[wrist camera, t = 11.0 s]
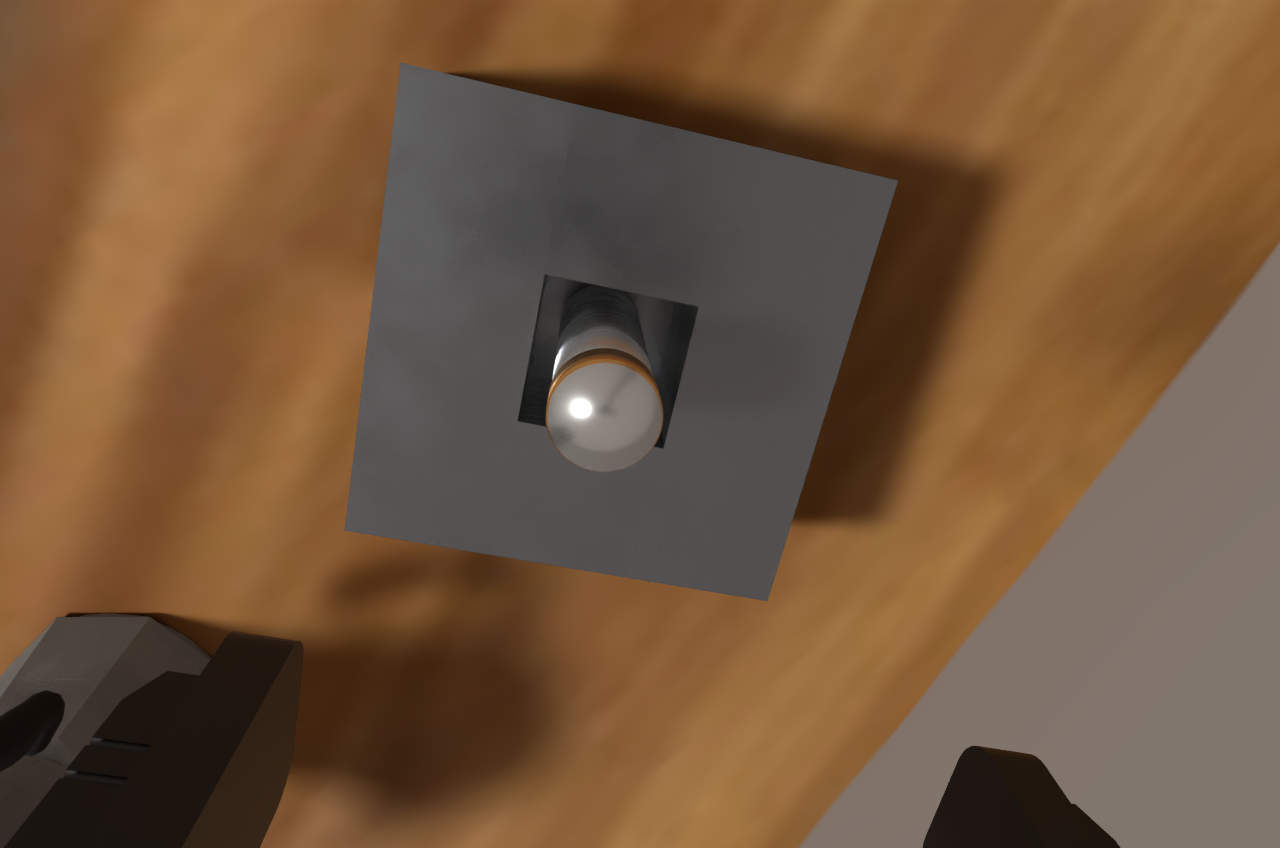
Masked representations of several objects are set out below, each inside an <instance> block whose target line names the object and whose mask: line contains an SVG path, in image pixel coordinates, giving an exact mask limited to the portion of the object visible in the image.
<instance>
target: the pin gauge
mask: <svg viewBox="0 0 1280 848" xmlns="http://www.w3.org/2000/svg"><path fill="white" fill-rule="evenodd" d="M546 426H547V430H548V434H549V436H550V439H551V441H552V443H553V444H554V446H555V447H556V449H557V450H558V451H559V452H560V454H562V455H563V456H564V457H565V458H566V459H567V460H569V461H570V462H571V463H573V464H575V465H577V466H579V467H581V468H584V469H587V470H591V471H598V472H611V471H617V470H621V469H624V468H627V467H630V466H632V465H634V464H635V463H637V462H639V461H640V460H641V459H643V458H644V457H645V456H646V455H647V454H648V453H649V452H650V451H651V450H652V448H653V447H654V445H655V444H656V442H657V440H658V438H659V436H660V433H661V430H662V426H663V406H662V402H661V398H660V394H659V390H658V386H657V383H656V381H655V378H654V377H653V373H652V369H651V365H650V361H649V357H648V353H647V349H646V345H645V340H644V336H643V332H642V328H641V324H640V320H639V316H638V312H637V309H636V307H635V305H634V303H633V302H632V301H631V299H630V298H629V297H628V296H627V295H626V294H624V293H623V292H622V291H620V290H618V289H613V288H608V287H603V286H599V285H594V286H589V287H586V288H583V289H581V290H580V291H578V292H577V293H575V294H574V295H573V296H572V297H571V298H570V299H569V300H568V302H567V303H566V305H565V306H564V309H563V311H562V315H561V321H560V328H559V335H558V343H557V350H556V357H555V364H554V372H553V379H552V383H551V385H550V389H549V394H548V400H547V408H546Z"/></svg>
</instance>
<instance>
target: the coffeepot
mask: <svg viewBox="0 0 1280 848" xmlns="http://www.w3.org/2000/svg"><path fill="white" fill-rule="evenodd" d="M210 660H211V657H210V656H209V655H208V654H207V653H206V652H205V651H203V650H202V649H201V648H200V647H199V646H198V645H196V644H195V643H194V642H193V641H192V640H191V639H189V638H187V637H186V636H184V635H183V634H181V633H179V632H178V631H176V630H174V629H173V628H170V627H168V626H166V625H163V624H161V623H158V622H156V621H155V620H154V619H152V618H151V617H146V616H138V615H129V614H116V613H101V614H89V615H84V616H80V617H57V618H56V619H55V620H54V621H53V622H52V623H51V624H50V625H49V626H48V627H47V628H46V629H45V630H44V631H43V632H42V633H41V634H40V635H39V636H38V637H37V638H36V639H35V640H34V641H33V642H32V644H31V645H30V646H29V647H28V648H27V649H26V650H25V651H24V652H23V653H22V654H21V655H20V656H19V657H18V658H17V659H16V660H15V661H14V662H13V663H12V664H11V665H10V666H9V667H8V668H7V669H6V670H5V671H4V673H3V674H2V676H1V677H0V848H4V846H5V845H6V844H7V843H8V841H9V840H10V839H11V838H12V836H13V835H14V834H15V833H16V831H17V830H18V829H19V828H20V826H21V825H22V824H23V823H24V821H25V820H26V819H27V818H28V816H29V815H30V814H31V813H32V811H33V810H34V809H35V808H36V806H37V805H38V804H39V803H40V801H41V800H42V799H43V798H44V796H45V795H46V794H47V793H48V791H49V790H50V789H51V788H52V786H53V785H54V784H55V783H56V781H57V780H58V779H59V778H63V777H64V775H65V772H66V769H67V768H68V766H69V765H70V764H71V763H72V761H73V760H74V759H75V758H76V756H77V755H78V754H79V753H80V751H81V750H82V749H83V748H84V746H85V745H89V744H90V742H91V739H92V736H93V735H94V734H95V732H96V731H97V730H98V729H99V727H100V726H101V725H102V724H103V722H104V721H105V720H106V719H107V717H108V716H109V715H110V714H111V712H112V711H113V710H114V709H115V707H116V706H117V705H118V704H119V702H120V701H121V700H122V699H123V698H125V697H127V696H128V695H130V694H131V693H133V692H134V691H136V690H138V689H139V688H141V687H142V686H144V685H146V684H147V683H149V682H150V681H152V680H154V679H155V678H157V677H158V676H160V675H162V674H163V673H165V672H166V671H173V672H179V673H186V674H193V675H200V674H201V672H202V671H203V670H204V668H205V667H206V665H207V664H208V662H209V661H210Z"/></svg>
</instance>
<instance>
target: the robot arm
mask: <svg viewBox="0 0 1280 848" xmlns="http://www.w3.org/2000/svg"><path fill="white" fill-rule="evenodd" d="M302 663H303V645H302V643H301V642H300V641H293V640H287V639H280V638H274V637H267V636H260V635H254V634H247V633H241V632H231V633H230V634H229V635H228V636H227V637H226V638H225V639H224V641H223V642H222V644H221V645H220V647H219V648H218V649H217V651H216V652H215V654H214V655H213V657H212V658H211V660H210V661H209V662H208V664H207V665H206V667H205V668H204V670H203V671H202V672H201V674H200V675H193V674H186V673H179V672H173V671H166V672H165V673H163V674H162V675H160V676H158V677H157V678H155V679H154V680H152V681H150V682H149V683H147V684H146V685H144V686H142V687H141V688H139V689H138V690H136V691H134V692H133V693H131V694H130V695H128V696H127V697H125V698H123V699H122V700H121V701H120V702H119V704H118V705H117V706H116V707H115V709H114V710H113V711H112V712H111V714H110V715H109V716H108V717H107V719H106V720H105V721H104V722H103V724H102V725H101V726H100V727H99V729H98V730H97V731H96V732H95V734H94V735H93V736H92V739H91V742H90V744H89V745H85V746H84V748H83V749H82V750H81V751H80V753H79V754H78V755H77V756H76V758H75V759H74V760H73V761H72V763H71V764H70V765H69V766H68V768H67V769H66V772H65V775H64V777H63V778H59V779H58V780H57V781H56V783H55V784H54V785H53V786H52V788H51V789H50V790H49V791H48V793H47V794H46V795H45V796H44V798H43V799H42V800H41V801H40V803H39V804H38V805H37V806H36V808H35V809H34V810H33V811H32V813H31V814H30V815H29V816H28V818H27V819H26V820H25V821H24V823H23V824H22V825H21V826H20V828H19V829H18V830H17V831H16V833H15V834H14V835H13V836H12V838H11V839H10V840H9V841H8V843H7V844H6V845H5V846H4V848H260V846H261V844H262V841H263V839H264V837H265V835H266V833H267V830H268V828H269V826H270V824H271V822H272V819H273V817H274V815H275V813H276V810H277V808H278V805H279V803H280V800H281V797H282V794H283V791H284V788H285V785H286V781H287V777H288V774H289V769H290V765H291V760H292V754H293V747H294V738H295V729H296V719H297V710H298V701H299V691H300V682H301V672H302ZM923 848H1120V847H1119V845H1118V844H1117V842H1116V841H1115V840H1114V839H1113V838H1112V837H1111V836H1109V834H1107V833H1106V832H1105V831H1104V830H1103V829H1102V828H1101V827H1100V826H1099V825H1097V824H1096V823H1095V822H1094V821H1093V820H1092V819H1091V818H1090V817H1089V816H1088V815H1087V814H1085V813H1084V812H1083V811H1082V810H1081V809H1080V808H1079V807H1078V806H1077V805H1075V804H1071V803H1070V801H1069V800H1068V799H1067V797H1066V795H1065V794H1064V793H1063V791H1062V790H1061V788H1060V787H1059V786H1058V784H1057V782H1056V781H1055V780H1054V778H1053V777H1052V775H1051V774H1050V772H1049V771H1048V769H1047V768H1046V767H1045V765H1044V764H1043V763H1042V761H1041V760H1040V759H1038V758H1037V757H1036V756H1034V755H1031V754H1026V753H1020V752H1013V751H1006V750H1000V749H993V748H987V747H980V746H971V747H969V748H967V749H966V750H965V751H964V752H963V753H962V755H961V756H960V758H959V760H958V762H957V765H956V767H955V769H954V772H953V774H952V776H951V779H950V781H949V783H948V786H947V788H946V790H945V793H944V795H943V797H942V800H941V802H940V805H939V807H938V809H937V811H936V814H935V816H934V818H933V821H932V823H931V825H930V828H929V830H928V832H927V835H926V837H925V840H924V844H923Z"/></svg>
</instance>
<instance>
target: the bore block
mask: <svg viewBox="0 0 1280 848" xmlns="http://www.w3.org/2000/svg"><path fill="white" fill-rule="evenodd" d="M897 183H898V180H894V179H889V178H885V177H881V176H877V175H873V174H868V173H864V172H860V171H856V170H852V169H847V168H843V167H839V166H835V165H830V164H826V163H822V162H818V161H814V160H809V159H805V158H801V157H797V156H792V155H788V154H784V153H780V152H776V151H771V150H767V149H763V148H759V147H754V146H750V145H746V144H742V143H738V142H733V141H729V140H725V139H721V138H716V137H712V136H708V135H704V134H700V133H695V132H691V131H687V130H683V129H679V128H674V127H670V126H666V125H662V124H657V123H653V122H649V121H645V120H641V119H636V118H632V117H628V116H624V115H619V114H615V113H611V112H607V111H603V110H598V109H594V108H590V107H586V106H581V105H577V104H573V103H569V102H565V101H560V100H556V99H552V98H548V97H543V96H539V95H535V94H531V93H527V92H522V91H518V90H514V89H510V88H506V87H501V86H497V85H493V84H489V83H484V82H480V81H476V80H472V79H468V78H463V77H459V76H455V75H451V74H446V73H442V72H438V71H434V70H430V69H425V68H421V67H417V66H413V65H408V64H404V63H401V66H400V74H399V82H398V91H397V99H396V107H395V116H394V124H393V132H392V141H391V149H390V157H389V166H388V174H387V182H386V191H385V199H384V207H383V216H382V224H381V232H380V241H379V249H378V257H377V266H376V274H375V282H374V291H373V299H372V307H371V316H370V324H369V332H368V341H367V349H366V357H365V366H364V374H363V382H362V391H361V399H360V407H359V416H358V424H357V432H356V441H355V449H354V457H353V466H352V474H351V482H350V491H349V499H348V507H347V516H346V524H345V531H351V532H357V533H363V534H369V535H375V536H381V537H387V538H393V539H399V540H405V541H411V542H417V543H423V544H429V545H435V546H441V547H447V548H453V549H459V550H465V551H471V552H477V553H483V554H489V555H495V556H501V557H507V558H513V559H519V560H525V561H531V562H537V563H543V564H548V565H554V566H560V567H566V568H572V569H578V570H584V571H590V572H596V573H602V574H608V575H614V576H620V577H626V578H632V579H638V580H644V581H650V582H656V583H662V584H668V585H674V586H680V587H686V588H692V589H698V590H704V591H710V592H716V593H722V594H728V595H734V596H740V597H746V598H752V599H758V600H764V601H767V600H768V597H769V594H770V591H771V588H772V584H773V581H774V578H775V575H776V571H777V568H778V565H779V562H780V559H781V555H782V552H783V549H784V546H785V543H786V539H787V536H788V533H789V530H790V526H791V523H792V520H793V517H794V514H795V510H796V507H797V504H798V501H799V498H800V494H801V491H802V488H803V485H804V482H805V478H806V475H807V472H808V469H809V465H810V462H811V459H812V456H813V453H814V449H815V446H816V443H817V440H818V437H819V433H820V430H821V427H822V424H823V420H824V417H825V414H826V411H827V408H828V404H829V401H830V398H831V395H832V392H833V388H834V385H835V382H836V379H837V376H838V372H839V369H840V366H841V363H842V359H843V356H844V353H845V350H846V347H847V343H848V340H849V337H850V334H851V331H852V327H853V324H854V321H855V318H856V314H857V311H858V308H859V305H860V302H861V298H862V295H863V292H864V289H865V286H866V282H867V279H868V276H869V273H870V270H871V266H872V263H873V260H874V257H875V253H876V250H877V247H878V244H879V241H880V237H881V234H882V231H883V228H884V225H885V221H886V218H887V215H888V212H889V209H890V205H891V202H892V199H893V196H894V192H895V189H896V186H897ZM594 285H599V286H603V287H608V288H613V289H618V290H620V291H622V292H623V293H624V294H626V295H627V296H628V297H629V298H630V299H631V301H632V302H633V303H634V305H635V307H636V309H637V312H638V316H639V320H640V324H641V328H642V332H643V336H644V340H645V345H646V349H647V353H648V357H649V361H650V365H651V369H652V373H653V377H654V378H655V381H656V383H657V386H658V390H659V394H660V398H661V402H662V406H663V426H662V430H661V433H660V436H659V438H658V440H657V442H656V444H655V445H654V447H653V448H652V450H651V451H650V452H649V453H648V454H647V455H646V456H645V457H644V458H643V459H641V460H640V461H639V462H637V463H635V464H634V465H632V466H630V467H627V468H624V469H621V470H617V471H611V472H598V471H591V470H587V469H584V468H581V467H579V466H577V465H575V464H573V463H571V462H570V461H569V460H567V459H566V458H565V457H564V456H563V455H562V454H560V452H559V451H558V450H557V449H556V447H555V446H554V444H553V443H552V441H551V439H550V436H549V434H548V430H547V426H546V408H547V400H548V394H549V389H550V385H551V383H552V379H553V372H554V364H555V357H556V350H557V343H558V335H559V328H560V321H561V315H562V311H563V309H564V306H565V305H566V303H567V302H568V300H569V299H570V298H571V297H572V296H573V295H574V294H575V293H577V292H578V291H580V290H581V289H583V288H586V287H589V286H594Z"/></svg>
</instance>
